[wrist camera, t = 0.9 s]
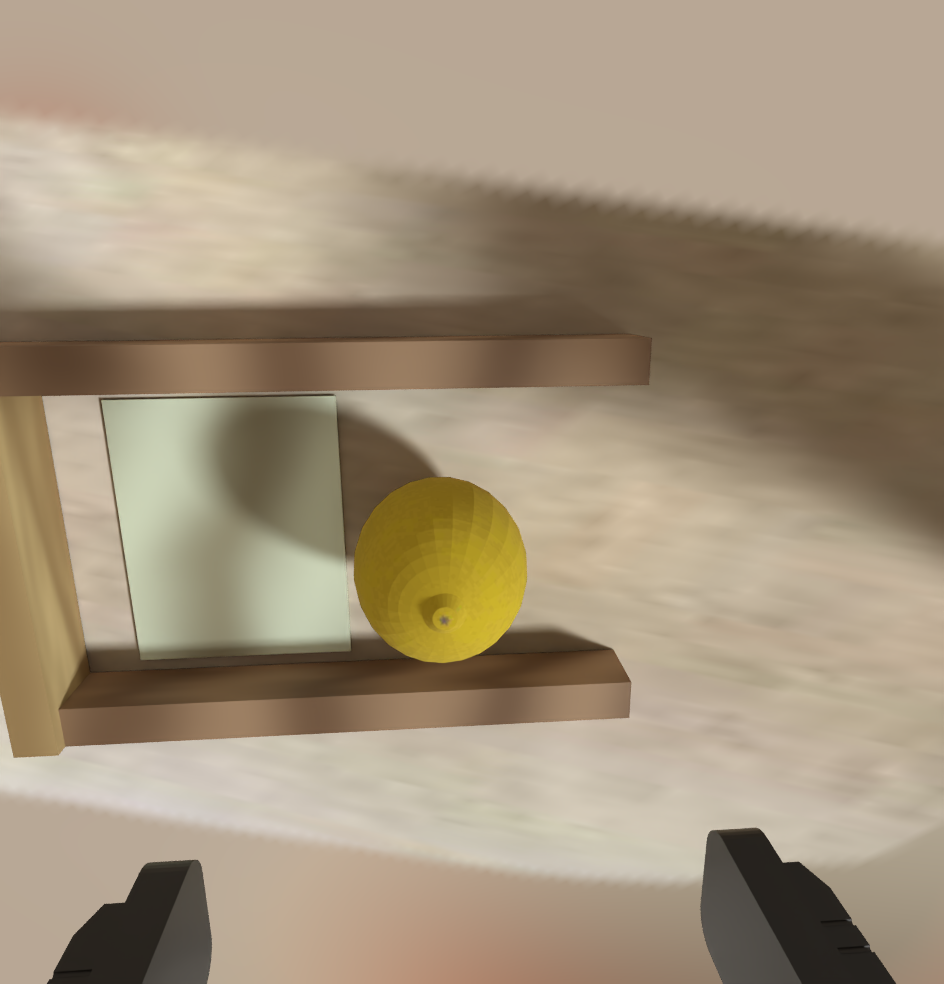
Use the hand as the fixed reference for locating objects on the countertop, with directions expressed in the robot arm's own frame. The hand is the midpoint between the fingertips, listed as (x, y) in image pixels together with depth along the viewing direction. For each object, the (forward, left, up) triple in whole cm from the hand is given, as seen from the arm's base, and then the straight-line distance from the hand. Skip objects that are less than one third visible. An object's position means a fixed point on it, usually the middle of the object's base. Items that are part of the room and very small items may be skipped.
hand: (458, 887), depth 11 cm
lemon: (0, -1, -17) cm, 17 cm away
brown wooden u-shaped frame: (+4, -1, -16) cm, 17 cm away
